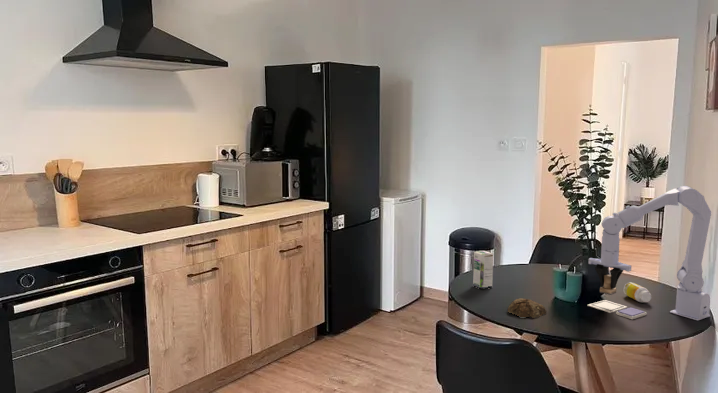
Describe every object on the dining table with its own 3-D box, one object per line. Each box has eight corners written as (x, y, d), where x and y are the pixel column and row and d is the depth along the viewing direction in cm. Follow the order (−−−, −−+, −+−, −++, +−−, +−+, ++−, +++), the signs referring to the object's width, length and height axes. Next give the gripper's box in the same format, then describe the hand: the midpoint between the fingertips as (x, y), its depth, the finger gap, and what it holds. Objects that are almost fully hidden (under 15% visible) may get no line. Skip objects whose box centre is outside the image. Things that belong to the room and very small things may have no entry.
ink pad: (646, 314, 187) (646, 311, 187) (632, 319, 183) (632, 316, 183) (630, 309, 192) (630, 306, 192) (616, 314, 188) (616, 310, 188)
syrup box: (472, 286, 222) (473, 251, 220) (484, 284, 225) (484, 249, 223) (481, 290, 217) (481, 254, 215) (493, 287, 219) (493, 252, 217)
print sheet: (627, 307, 195) (627, 306, 195) (609, 312, 190) (609, 311, 190) (604, 300, 202) (604, 299, 202) (587, 305, 197) (587, 304, 197)
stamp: (616, 292, 195) (617, 276, 194) (610, 295, 193) (611, 278, 192) (605, 290, 198) (606, 273, 197) (599, 292, 196) (600, 275, 195)
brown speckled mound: (518, 304, 200) (518, 291, 200) (550, 312, 192) (550, 299, 191) (499, 313, 192) (500, 299, 191) (532, 322, 183) (532, 308, 182)
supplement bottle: (622, 296, 207) (639, 305, 197) (622, 282, 207) (639, 290, 197) (636, 295, 208) (653, 303, 198) (636, 281, 207) (653, 289, 197)
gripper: (636, 251, 190) (633, 289, 192) (595, 244, 201) (594, 280, 203) (627, 254, 186) (624, 293, 188) (586, 247, 197) (584, 284, 199)
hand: (608, 286), depth 195 cm, fingers closed on stamp, 3 cm apart
